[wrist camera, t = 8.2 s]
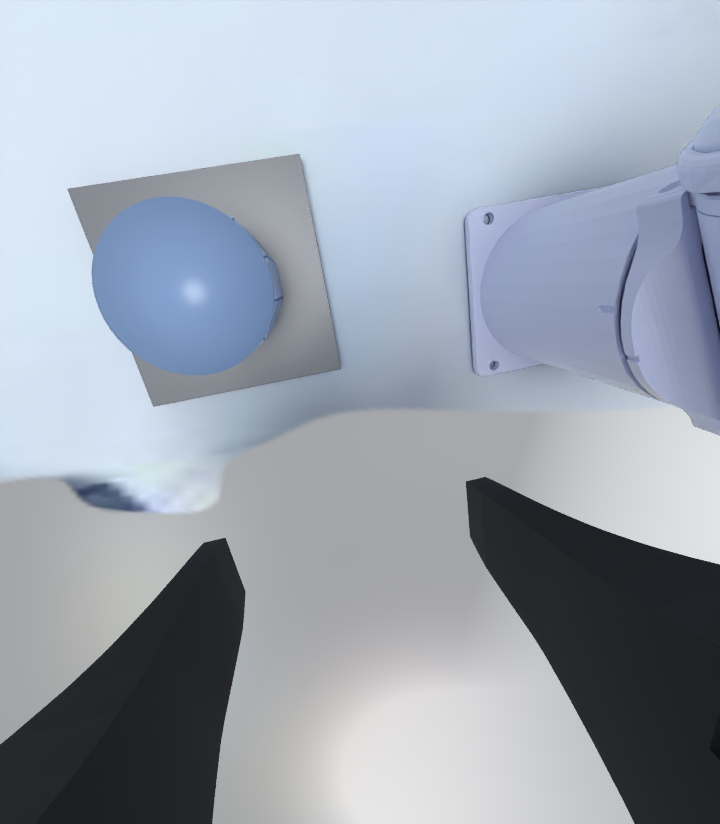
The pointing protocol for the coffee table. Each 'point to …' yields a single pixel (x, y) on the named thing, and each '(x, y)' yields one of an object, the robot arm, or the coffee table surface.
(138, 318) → the cap
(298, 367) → the plate
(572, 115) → the coffee table surface
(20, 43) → the coffee table surface
